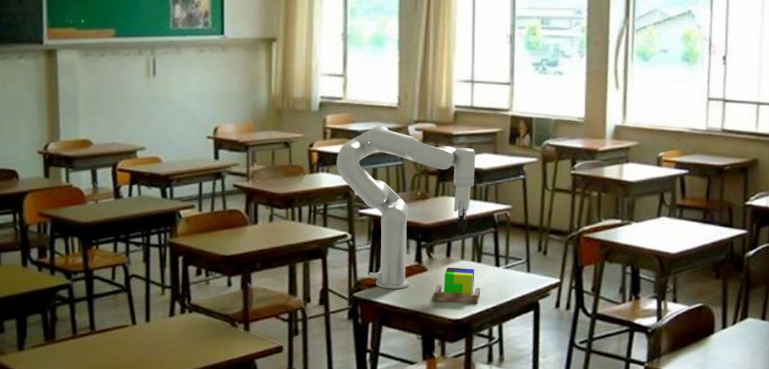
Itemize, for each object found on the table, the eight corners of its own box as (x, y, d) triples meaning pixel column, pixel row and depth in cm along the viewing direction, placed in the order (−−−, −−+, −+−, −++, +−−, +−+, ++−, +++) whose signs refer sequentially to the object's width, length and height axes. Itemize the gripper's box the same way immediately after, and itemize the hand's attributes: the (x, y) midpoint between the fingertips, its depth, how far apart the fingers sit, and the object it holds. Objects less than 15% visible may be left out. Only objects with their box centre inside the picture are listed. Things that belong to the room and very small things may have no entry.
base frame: (433, 300, 389) (433, 292, 389) (437, 292, 400) (437, 285, 400) (477, 303, 387) (477, 295, 386) (479, 295, 398) (480, 287, 397)
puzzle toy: (473, 295, 399) (474, 269, 397) (471, 302, 389) (472, 275, 387) (446, 293, 400) (447, 267, 398) (443, 300, 390) (444, 273, 389)
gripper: (456, 177, 408) (453, 224, 411) (451, 183, 394) (449, 232, 397) (475, 178, 407) (473, 226, 410) (471, 185, 392) (469, 233, 395)
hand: (461, 229), depth 403 cm, fingers closed
